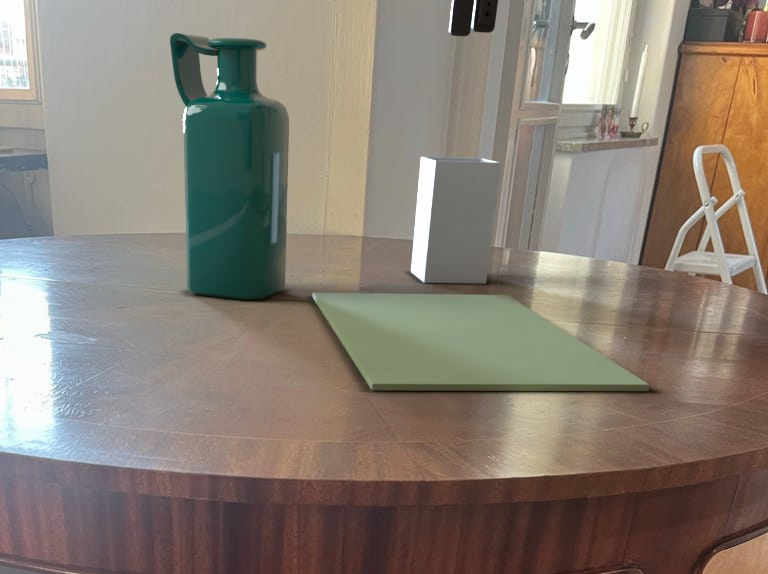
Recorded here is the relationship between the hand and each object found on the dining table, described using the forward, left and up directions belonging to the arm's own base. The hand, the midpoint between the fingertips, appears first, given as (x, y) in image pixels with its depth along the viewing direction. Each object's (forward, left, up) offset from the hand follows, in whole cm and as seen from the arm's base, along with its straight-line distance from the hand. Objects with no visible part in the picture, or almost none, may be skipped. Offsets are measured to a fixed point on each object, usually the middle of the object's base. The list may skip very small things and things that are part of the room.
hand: (470, 34), depth 98 cm
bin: (0, +3, -24) cm, 24 cm away
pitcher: (+25, +13, -24) cm, 37 cm away
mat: (+7, +33, -24) cm, 41 cm away
